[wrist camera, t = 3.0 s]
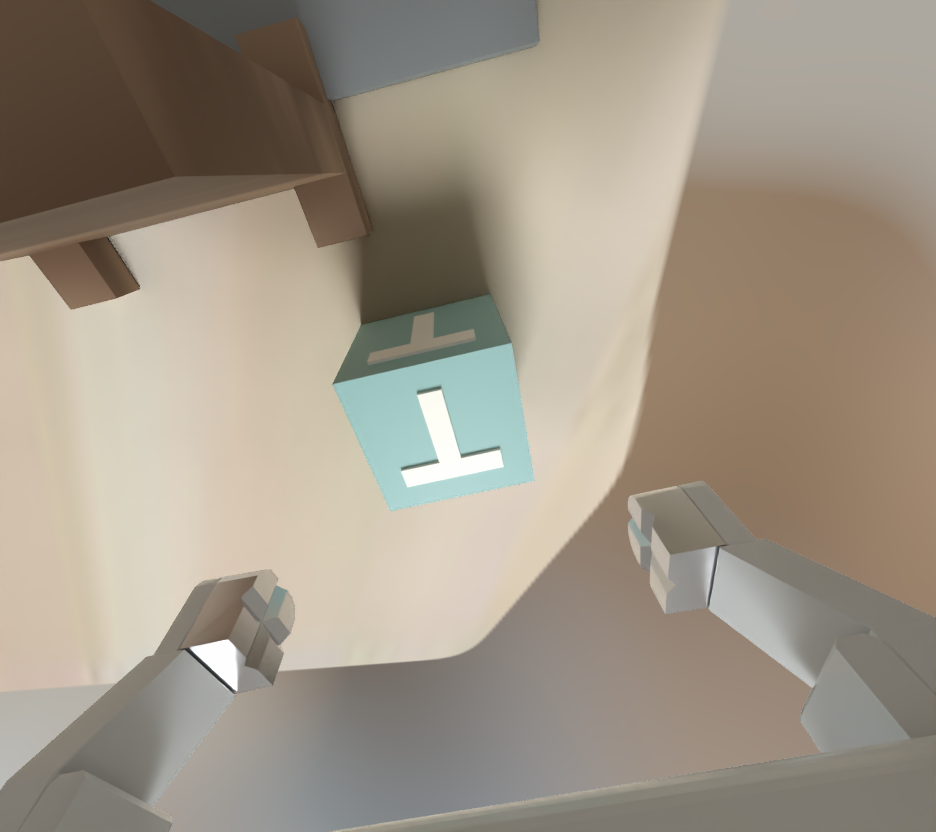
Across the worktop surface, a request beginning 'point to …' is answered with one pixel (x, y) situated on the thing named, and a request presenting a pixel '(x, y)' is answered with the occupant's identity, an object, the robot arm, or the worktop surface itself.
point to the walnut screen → (153, 133)
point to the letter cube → (437, 403)
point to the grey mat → (376, 34)
